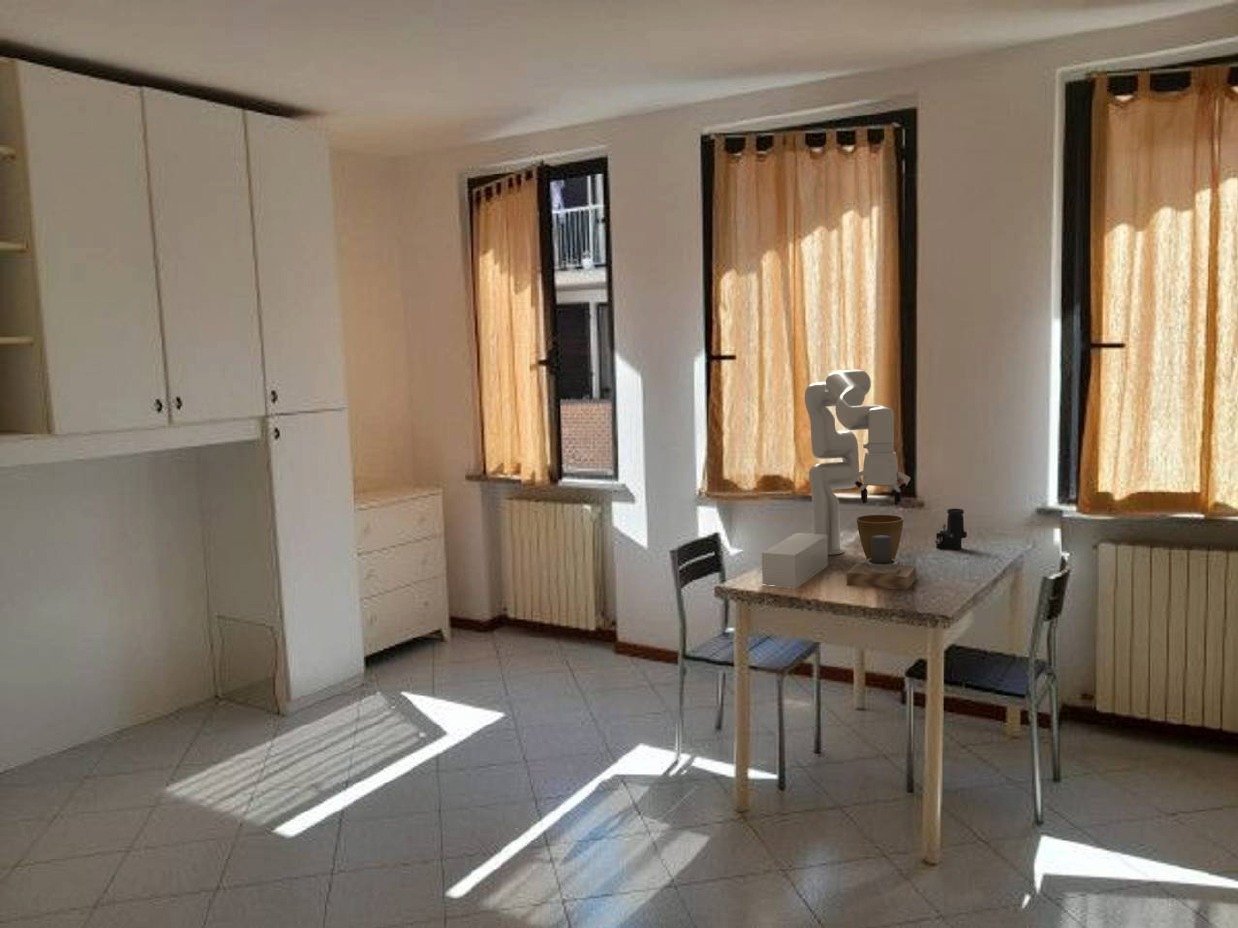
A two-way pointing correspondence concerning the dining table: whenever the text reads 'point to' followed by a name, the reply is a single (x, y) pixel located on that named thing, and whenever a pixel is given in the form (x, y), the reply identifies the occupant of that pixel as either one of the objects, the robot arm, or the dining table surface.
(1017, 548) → the dining table surface
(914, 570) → the wooden block
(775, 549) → the stack of papers
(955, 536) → the scope
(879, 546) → the lens
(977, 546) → the dining table surface
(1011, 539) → the dining table surface
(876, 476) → the robot arm
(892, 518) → the plant pot
